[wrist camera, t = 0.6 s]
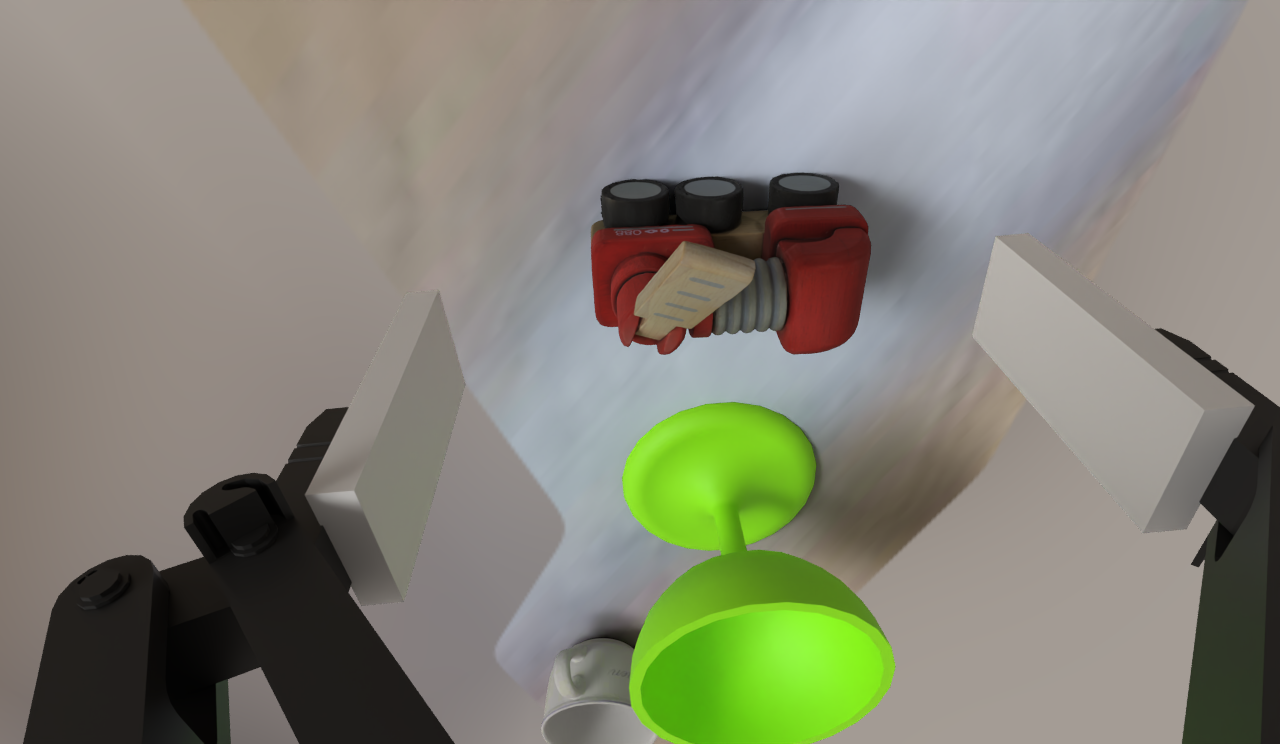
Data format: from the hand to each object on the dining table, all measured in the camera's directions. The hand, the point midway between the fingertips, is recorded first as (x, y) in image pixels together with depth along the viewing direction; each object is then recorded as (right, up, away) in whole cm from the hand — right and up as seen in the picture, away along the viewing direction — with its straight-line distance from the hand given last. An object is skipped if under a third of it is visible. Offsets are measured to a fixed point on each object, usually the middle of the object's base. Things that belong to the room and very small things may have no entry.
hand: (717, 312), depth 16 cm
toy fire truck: (+3, +9, +27) cm, 28 cm away
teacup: (-6, -29, +51) cm, 59 cm away
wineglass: (+5, -10, +39) cm, 41 cm away
